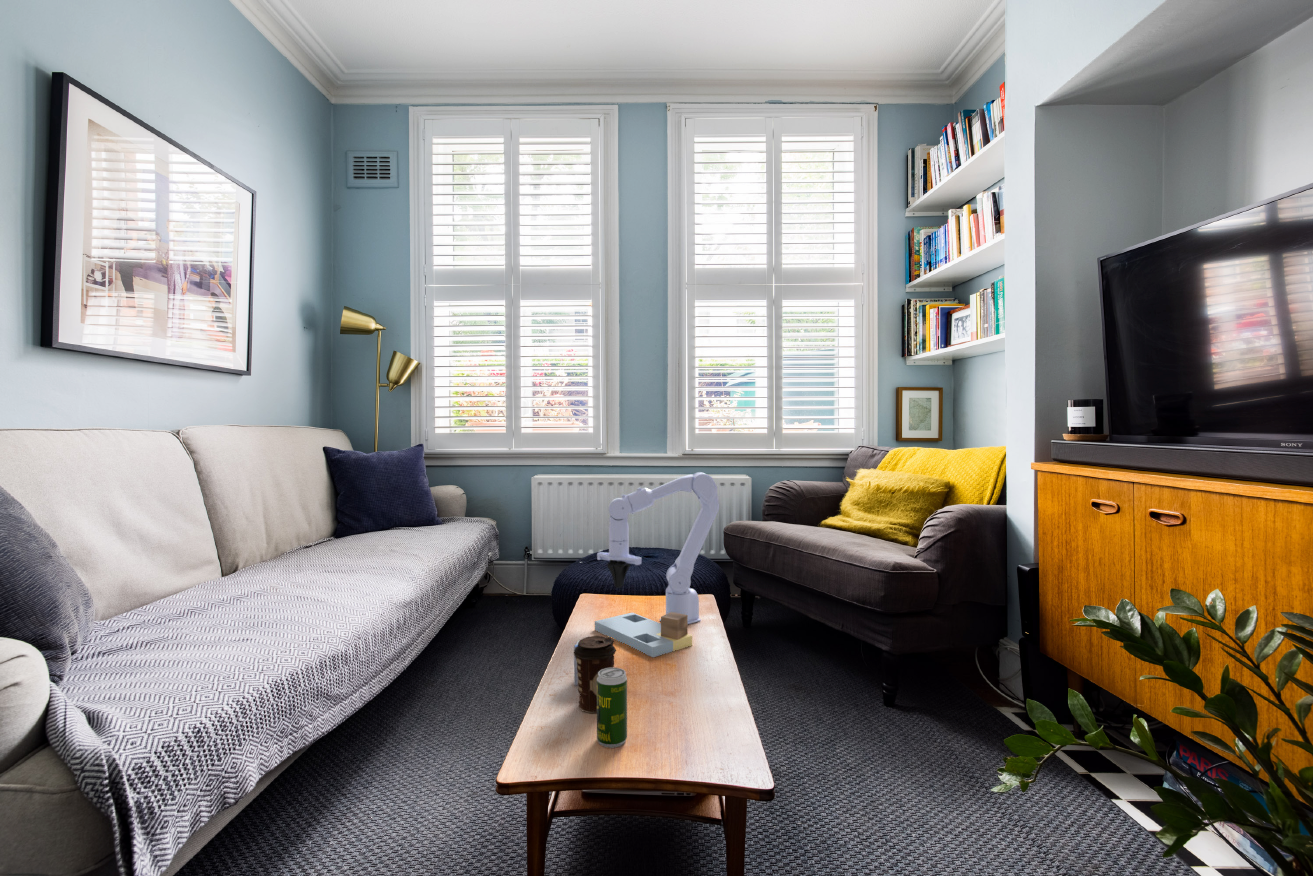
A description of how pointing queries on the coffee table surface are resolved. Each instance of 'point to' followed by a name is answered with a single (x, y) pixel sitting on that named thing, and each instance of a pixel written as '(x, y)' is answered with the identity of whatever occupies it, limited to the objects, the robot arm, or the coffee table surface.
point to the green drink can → (611, 707)
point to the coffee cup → (592, 667)
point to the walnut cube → (674, 625)
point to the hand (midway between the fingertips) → (619, 586)
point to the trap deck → (641, 634)
